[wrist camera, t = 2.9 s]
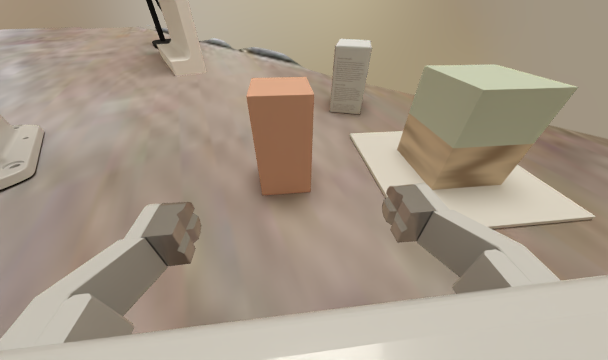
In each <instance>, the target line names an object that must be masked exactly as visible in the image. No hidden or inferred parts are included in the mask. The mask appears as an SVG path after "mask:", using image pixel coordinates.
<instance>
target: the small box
mask: <svg viewBox="0 0 608 360" xmlns="http://www.w3.org/2000/svg"><path fill="white" fill-rule="evenodd" d="M371 51H372V47H371V41H370V40H353V39H340V40H339V41H338V43H337V44H336V46H335V55H334V66H333V79H332V90H331V103H330V112H338V113H348V114H360V110H361V105H362V99H363V94H364V88H365V83H366V77H367V73H368V67H369V62H370V56H371Z"/></svg>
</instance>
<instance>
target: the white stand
mask: <svg viewBox="0 0 608 360" xmlns="http://www.w3.org/2000/svg"><path fill="white" fill-rule="evenodd" d="M158 1H159V4H160V7H161V10H162V13H163V16H164V19H165V22H166V25H167V28H168V31H169V34H170V37H171V42H170V43H168V44H157V47H158V48H159V49H158V50H159V52H160V55H161V57H162V58H163V59H164V61H165V62H166V64H167V65H168V66H169V68H170V69H171V70H172V72H173V73H174V75H175V76H184V75H191V74H199V73H207V71H206V67H205V63H204V60H203V56H202V52H201V48H200V44H199V41H198V37H197V33H196V29H195V25H194V21H193V18H192V14H191V9H190V6H189V2H188V0H158Z"/></svg>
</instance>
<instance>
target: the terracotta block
mask: <svg viewBox="0 0 608 360" xmlns="http://www.w3.org/2000/svg"><path fill="white" fill-rule="evenodd" d="M246 97H247V103H248V109H249V115H250V121H251V128H252V134H253V140H254V146H255V152H256V159H257V165H258V171H259V177H260V183H261V189H262V195H275V194H289V193H303V192H310V191H311V164H312V136H313V109H314V93H313V91H312V89H311V87H310V85H309V82H308V80H307V78H306V77H282V78H252V79H251V82H250V86H249V89H248V93H247V96H246Z"/></svg>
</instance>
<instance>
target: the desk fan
mask: <svg viewBox="0 0 608 360" xmlns="http://www.w3.org/2000/svg"><path fill="white" fill-rule="evenodd" d="M146 1H147V4H148V7H149V10H150V12H151V15H152V18H153V21H154V24H155V27H156V29H157V32H158V35H159V38H160V40H155V41H153V42H152V43H153V45H154V46H155V47H157V44H168V43H170V42H171V39H165V38H164V35H163V32H162V29H161V26H160V23H159V20H158V17H157V14H156V12H155V8H154V6H153V3H152V0H146ZM155 1H156V2H157V4H158V6H159V8H160V9H161V7H160V4H159V2H158V0H155ZM161 11H162V10H161Z"/></svg>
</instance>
